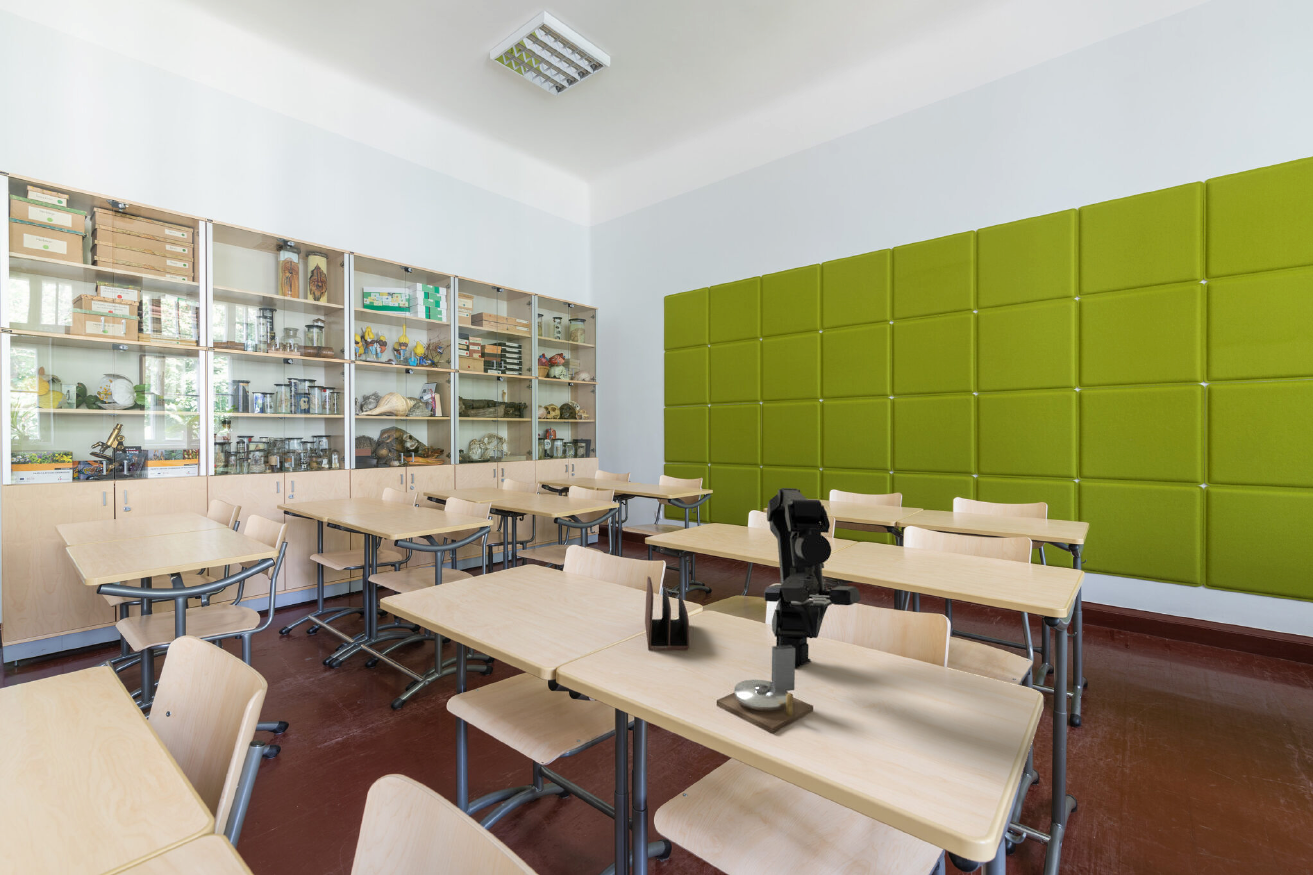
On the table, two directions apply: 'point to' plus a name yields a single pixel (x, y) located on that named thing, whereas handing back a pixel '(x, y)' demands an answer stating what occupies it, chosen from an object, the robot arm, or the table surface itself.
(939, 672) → the table surface
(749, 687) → the disc and block
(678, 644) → the letter holder
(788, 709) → the walnut board
